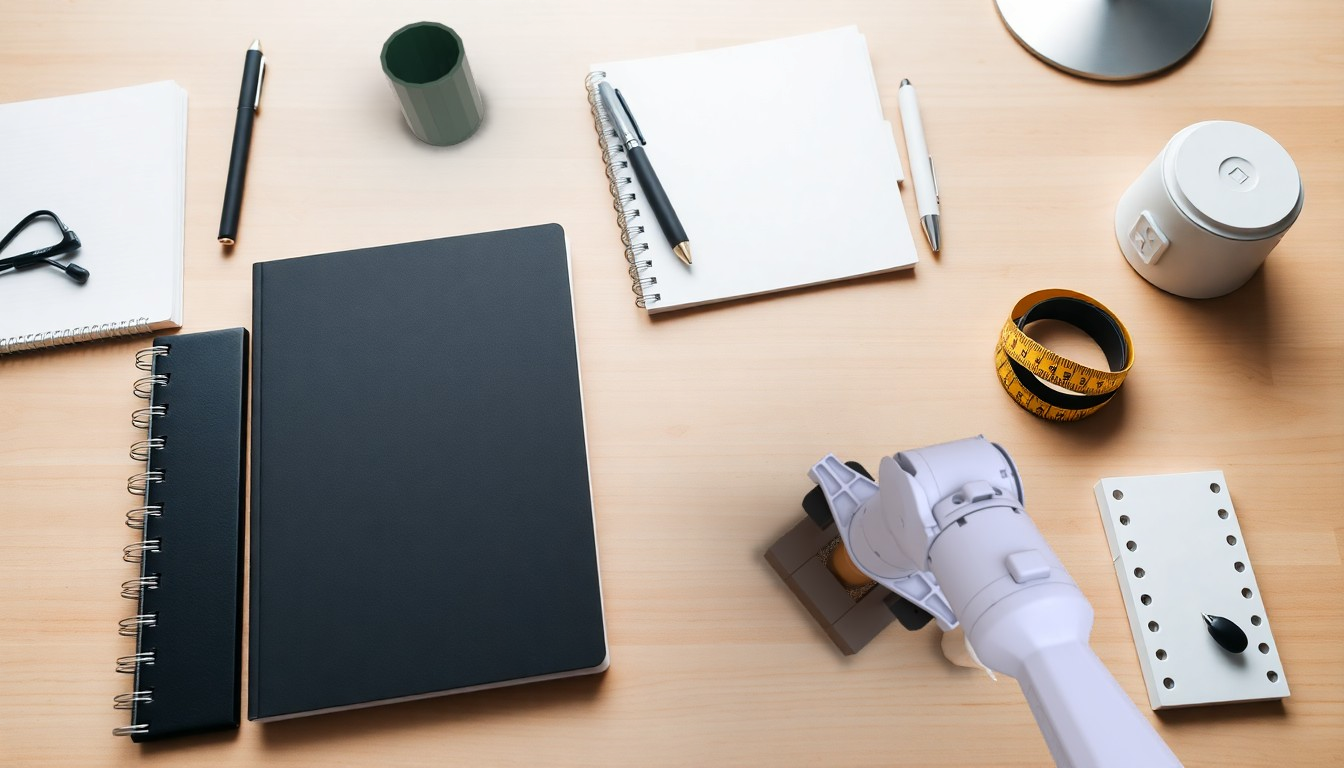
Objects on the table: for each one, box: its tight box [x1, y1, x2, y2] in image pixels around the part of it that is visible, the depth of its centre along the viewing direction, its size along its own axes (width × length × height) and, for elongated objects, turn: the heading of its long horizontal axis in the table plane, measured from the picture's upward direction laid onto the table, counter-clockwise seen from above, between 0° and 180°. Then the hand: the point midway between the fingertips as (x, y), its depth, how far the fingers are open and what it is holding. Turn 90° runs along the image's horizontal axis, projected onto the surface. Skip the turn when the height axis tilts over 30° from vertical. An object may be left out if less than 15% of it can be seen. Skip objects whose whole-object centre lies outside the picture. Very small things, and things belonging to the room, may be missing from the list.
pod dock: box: [763, 514, 897, 657], centre depth 70 cm, size 11×11×4 cm
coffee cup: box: [379, 20, 484, 147], centre depth 84 cm, size 8×8×9 cm
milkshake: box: [940, 624, 998, 682], centre depth 65 cm, size 5×5×10 cm
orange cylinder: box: [825, 539, 874, 591], centre depth 68 cm, size 4×4×8 cm
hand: (861, 557), depth 67 cm, fingers open, 7 cm apart
